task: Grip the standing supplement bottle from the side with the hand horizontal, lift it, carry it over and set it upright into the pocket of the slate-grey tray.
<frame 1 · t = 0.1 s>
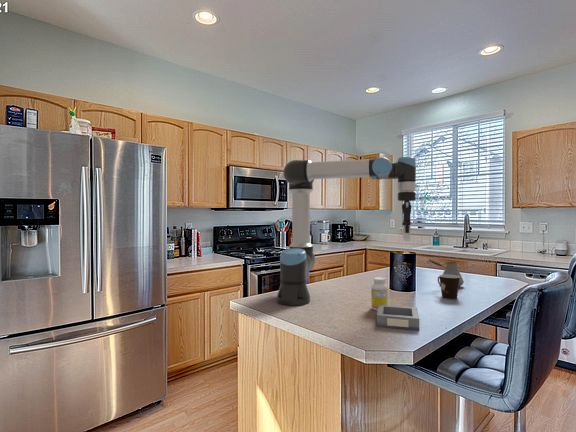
hand: (406, 239, 150), 28 cm above the worktop, tool pointing down, fingers open, 13 cm apart
pocket tray: (397, 322, 123), on the worktop
coffee mug: (448, 297, 159), on the worktop
supplement bottle: (379, 309, 140), on the worktop
coffee pot: (444, 287, 180), on the worktop
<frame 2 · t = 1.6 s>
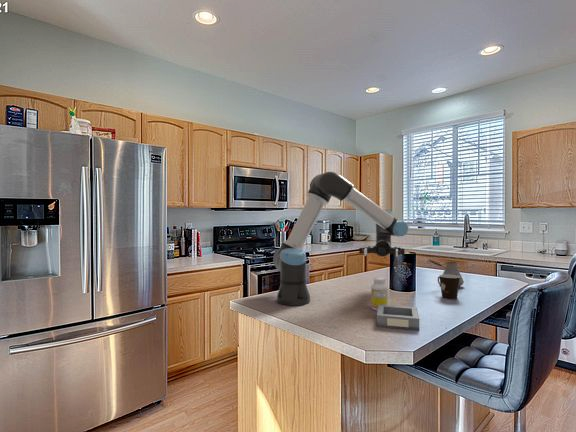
hand: (380, 253, 148), 22 cm above the worktop, tool horizontal, fingers open, 13 cm apart
nothing on the worktop moved.
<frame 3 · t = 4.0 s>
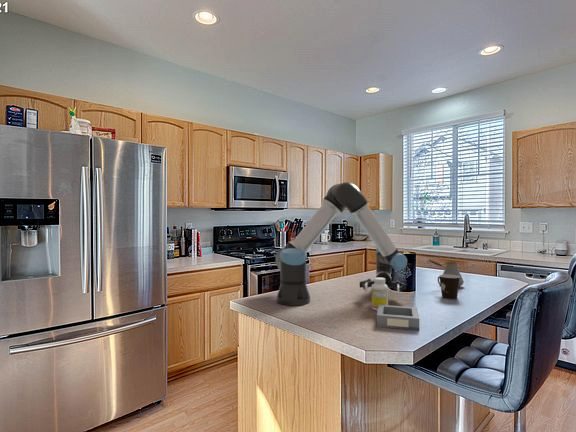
hand: (381, 289, 145), 7 cm above the worktop, tool horizontal, fingers open, 13 cm apart
nothing on the worktop moved.
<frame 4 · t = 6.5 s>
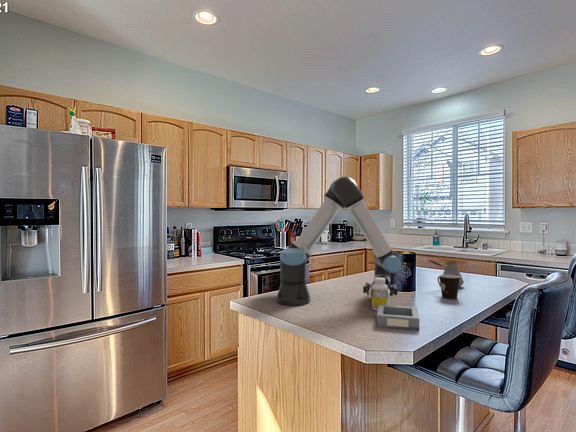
hand: (379, 295, 135), 7 cm above the worktop, tool horizontal, fingers closed on supplement bottle, 7 cm apart
supplement bottle: (379, 309, 140), on the worktop, touching gripper
everything else where it was.
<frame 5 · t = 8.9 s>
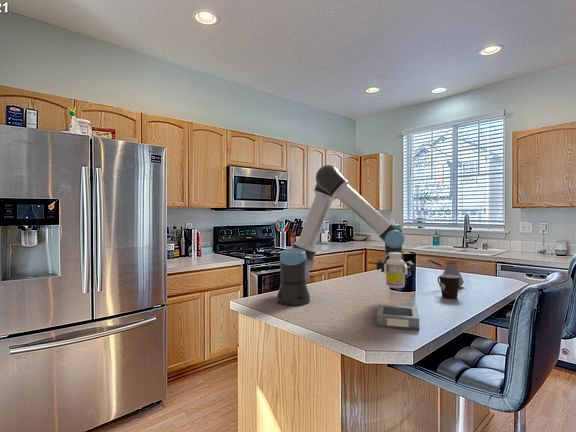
hand: (395, 270, 123), 19 cm above the worktop, tool horizontal, fingers closed on supplement bottle, 7 cm apart
supplement bottle: (395, 287, 128), point 12 cm above the worktop, touching gripper
everything else where it was.
when the fingers open (9 cm above the worktop, at t = 11.4 s): supplement bottle drops 1 cm, resting on pocket tray.
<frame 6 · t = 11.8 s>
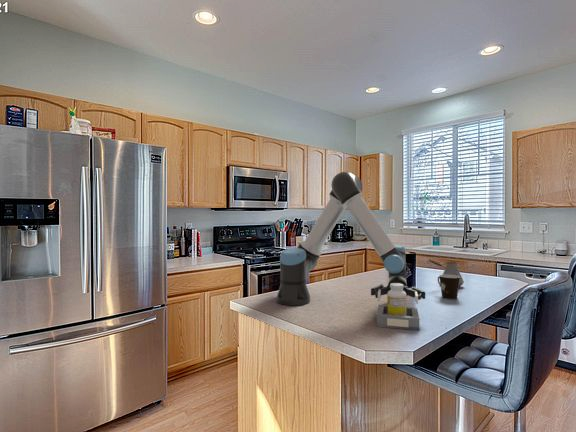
hand: (397, 298, 120), 10 cm above the worktop, tool horizontal, fingers open, 12 cm apart
supplement bottle: (396, 319, 123), point 1 cm above the worktop, touching pocket tray
everything else where it was.
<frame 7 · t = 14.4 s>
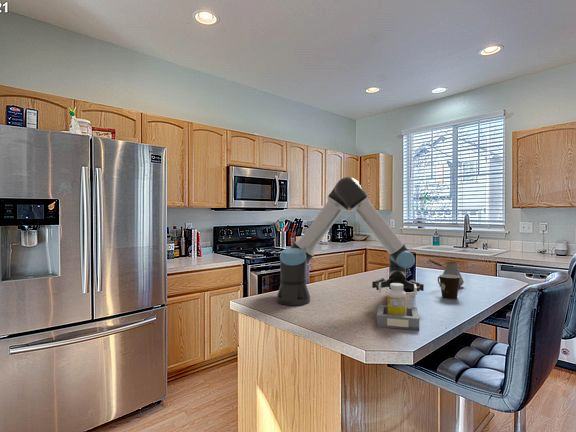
hand: (397, 290, 132), 10 cm above the worktop, tool horizontal, fingers open, 13 cm apart
nothing on the worktop moved.
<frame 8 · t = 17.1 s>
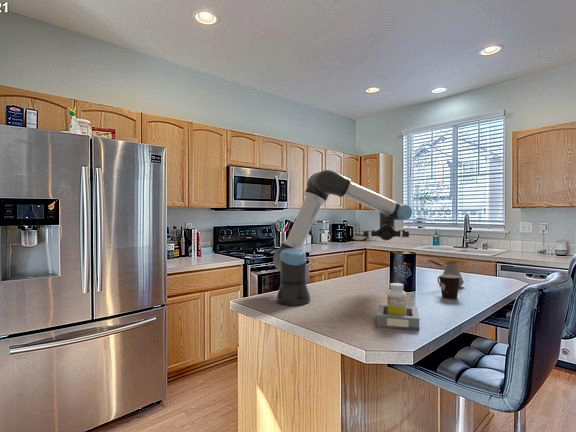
hand: (385, 235, 149), 30 cm above the worktop, tool horizontal, fingers open, 13 cm apart
nothing on the worktop moved.
at the end: supplement bottle 0.3 cm off-centre on the pocket tray, point 0.8 cm above the pocket tray's base; supplement bottle tilted 0°; the gripper is holding nothing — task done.
